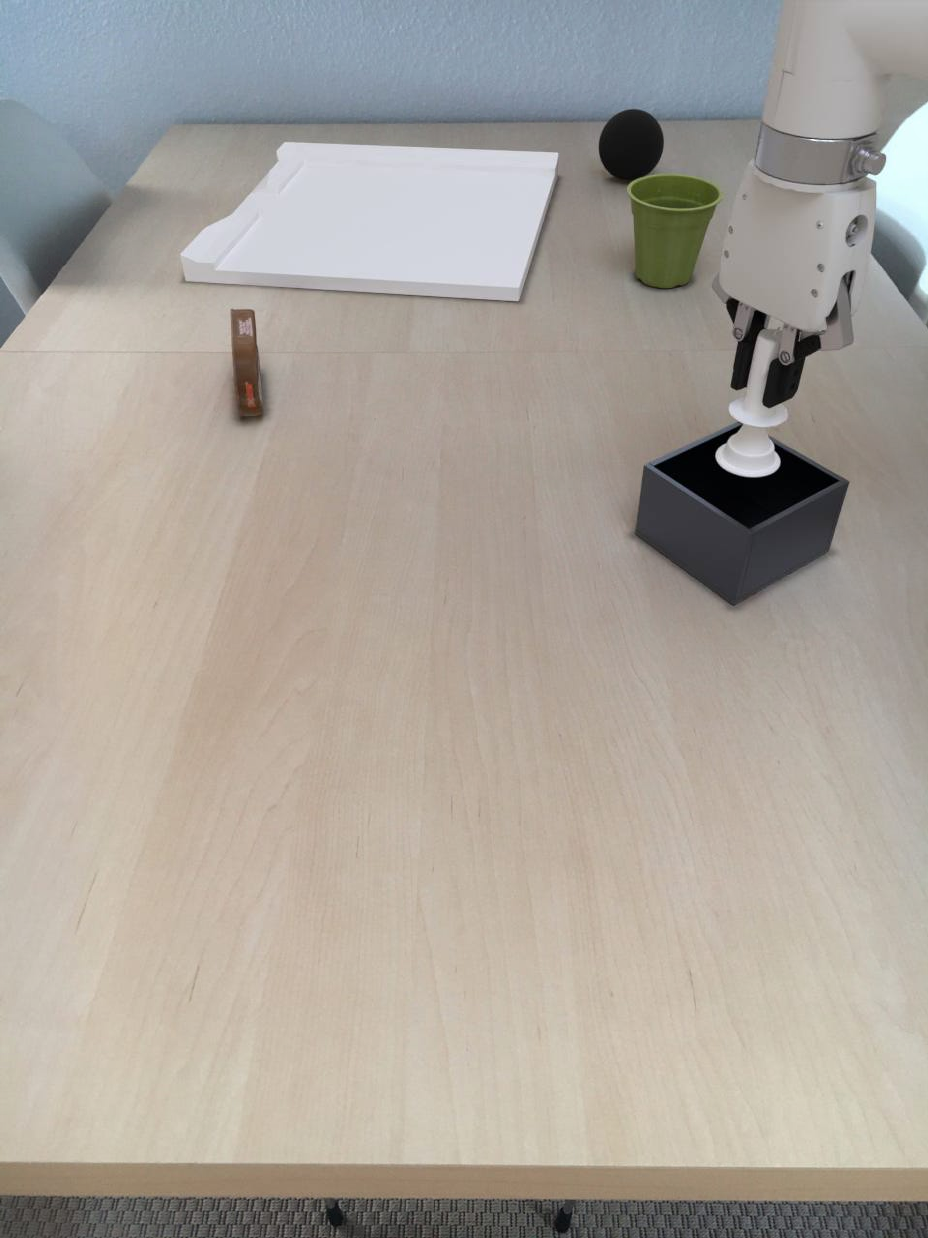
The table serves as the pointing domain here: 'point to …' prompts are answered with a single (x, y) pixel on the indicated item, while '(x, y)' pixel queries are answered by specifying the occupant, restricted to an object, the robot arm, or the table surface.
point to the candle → (755, 417)
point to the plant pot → (670, 225)
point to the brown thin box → (246, 362)
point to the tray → (384, 222)
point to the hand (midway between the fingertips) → (762, 391)
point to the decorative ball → (631, 144)
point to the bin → (738, 515)
